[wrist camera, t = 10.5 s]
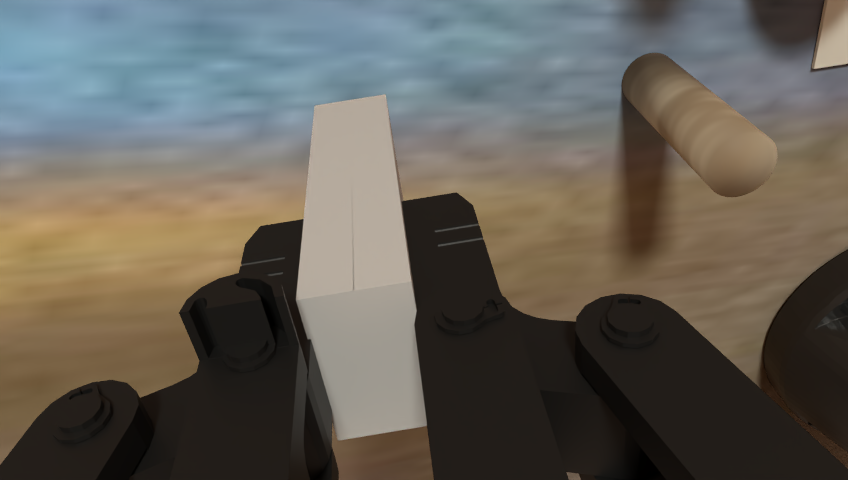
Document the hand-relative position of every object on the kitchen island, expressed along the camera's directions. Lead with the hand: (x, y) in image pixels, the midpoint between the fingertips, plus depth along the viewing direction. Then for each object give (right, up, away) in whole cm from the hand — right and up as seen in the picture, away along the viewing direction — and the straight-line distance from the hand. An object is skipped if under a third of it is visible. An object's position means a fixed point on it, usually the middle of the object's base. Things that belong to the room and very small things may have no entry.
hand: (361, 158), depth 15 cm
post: (+12, +6, +17) cm, 22 cm away
